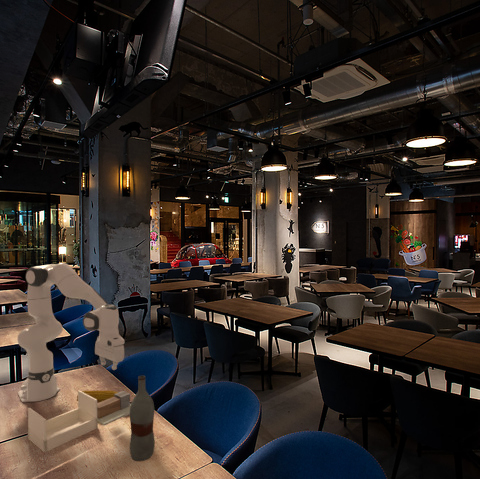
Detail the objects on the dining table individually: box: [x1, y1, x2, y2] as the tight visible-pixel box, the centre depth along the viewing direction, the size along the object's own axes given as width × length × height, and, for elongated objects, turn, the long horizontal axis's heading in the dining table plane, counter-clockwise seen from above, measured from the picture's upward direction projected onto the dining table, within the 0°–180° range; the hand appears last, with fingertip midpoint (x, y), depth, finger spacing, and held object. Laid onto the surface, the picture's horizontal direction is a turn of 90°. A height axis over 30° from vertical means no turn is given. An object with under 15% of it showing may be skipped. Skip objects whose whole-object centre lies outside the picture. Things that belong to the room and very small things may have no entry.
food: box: [76, 390, 119, 403], centre depth 176 cm, size 21×6×6 cm, turn 98°
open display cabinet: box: [27, 390, 99, 453], centre depth 146 cm, size 16×22×13 cm
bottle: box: [128, 374, 156, 462], centre depth 131 cm, size 9×9×30 cm
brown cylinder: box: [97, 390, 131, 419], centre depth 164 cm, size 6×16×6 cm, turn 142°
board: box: [98, 403, 131, 426], centre depth 164 cm, size 16×18×1 cm
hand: (108, 367), depth 164 cm, fingers open, 8 cm apart
